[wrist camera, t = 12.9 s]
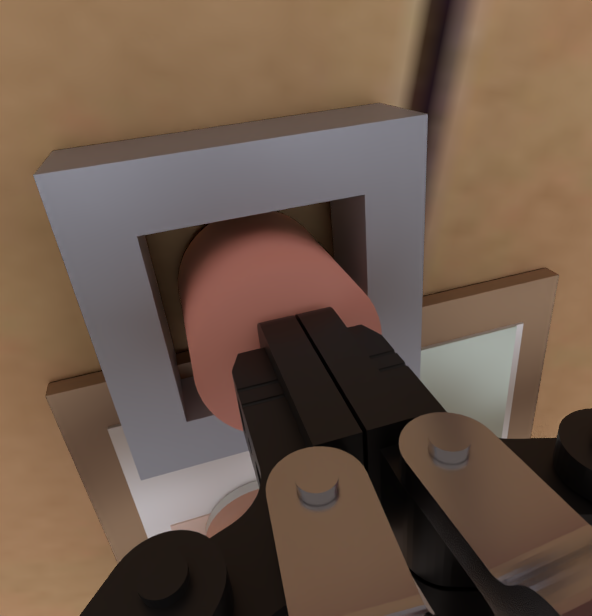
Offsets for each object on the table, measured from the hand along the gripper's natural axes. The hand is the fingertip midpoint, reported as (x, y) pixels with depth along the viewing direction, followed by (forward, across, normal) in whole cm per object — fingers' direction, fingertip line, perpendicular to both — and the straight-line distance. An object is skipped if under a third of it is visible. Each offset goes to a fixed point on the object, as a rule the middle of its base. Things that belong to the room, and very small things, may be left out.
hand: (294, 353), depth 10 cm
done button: (+4, 0, 0) cm, 4 cm away
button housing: (+4, 0, 0) cm, 4 cm away
